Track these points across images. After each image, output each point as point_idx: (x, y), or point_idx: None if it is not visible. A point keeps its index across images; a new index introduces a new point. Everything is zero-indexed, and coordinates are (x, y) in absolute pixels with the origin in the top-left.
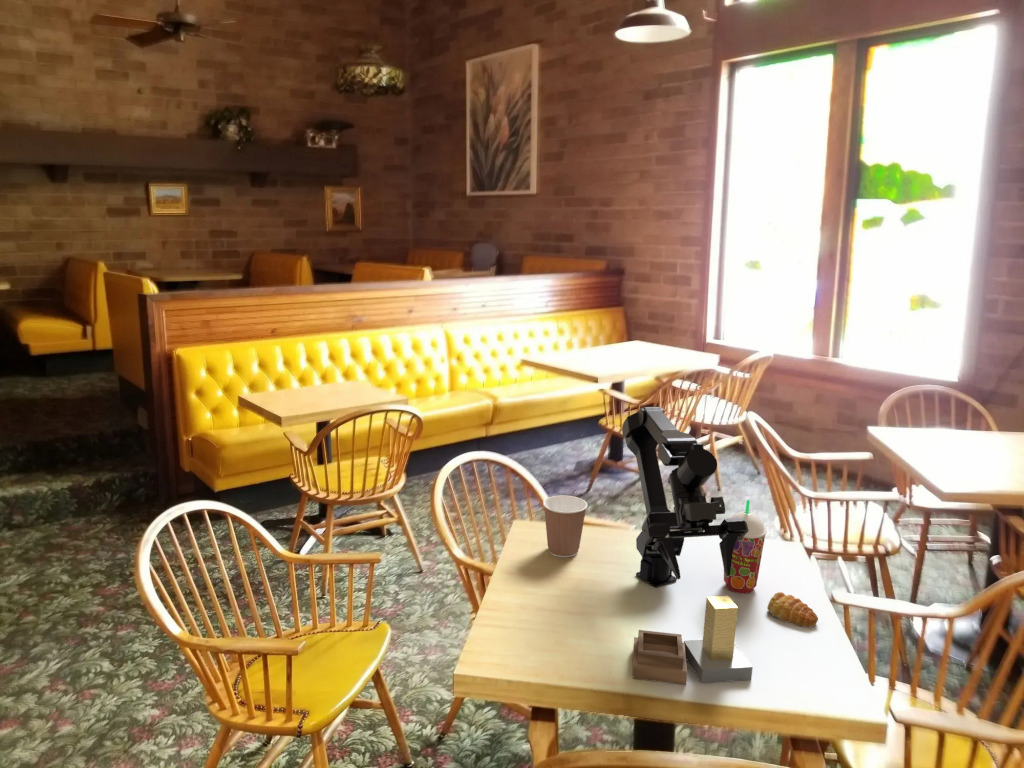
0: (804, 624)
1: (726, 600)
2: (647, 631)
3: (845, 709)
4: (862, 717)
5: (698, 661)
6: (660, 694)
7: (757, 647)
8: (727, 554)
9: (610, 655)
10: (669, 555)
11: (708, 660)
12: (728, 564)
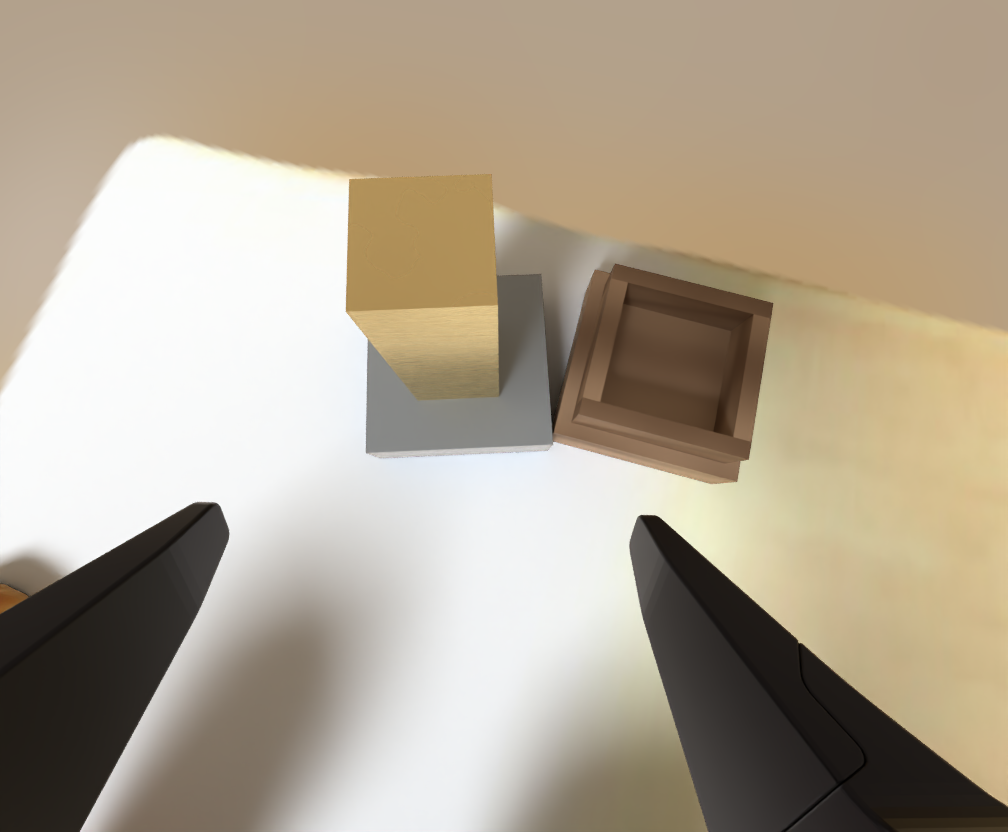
0: (5, 591)
1: (383, 256)
2: (713, 444)
3: (189, 170)
4: (167, 141)
5: (539, 320)
6: (669, 258)
7: (274, 468)
8: (11, 650)
9: (793, 454)
10: (856, 695)
11: (503, 322)
12: (130, 559)
